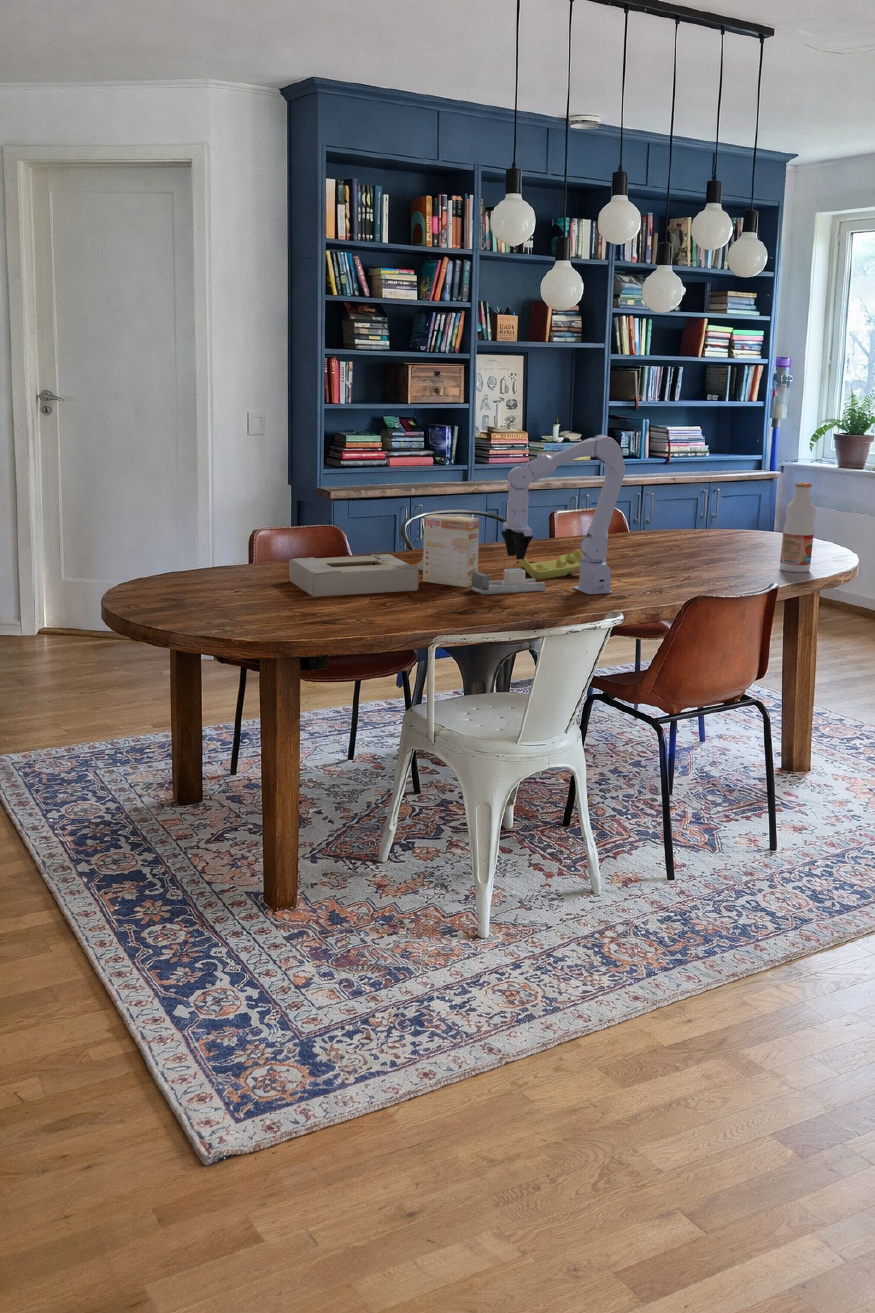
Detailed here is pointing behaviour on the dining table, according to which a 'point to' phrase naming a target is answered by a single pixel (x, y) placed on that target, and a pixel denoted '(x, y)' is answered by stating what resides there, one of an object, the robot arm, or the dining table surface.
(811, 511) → the fruit juice
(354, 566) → the box
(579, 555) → the plastic component
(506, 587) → the rail
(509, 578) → the block
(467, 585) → the coffeecake box
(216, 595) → the dining table surface
